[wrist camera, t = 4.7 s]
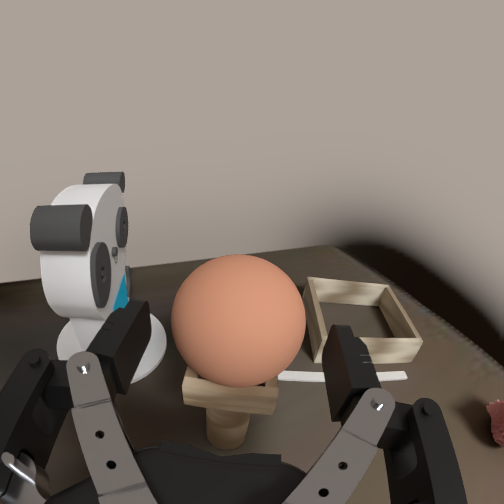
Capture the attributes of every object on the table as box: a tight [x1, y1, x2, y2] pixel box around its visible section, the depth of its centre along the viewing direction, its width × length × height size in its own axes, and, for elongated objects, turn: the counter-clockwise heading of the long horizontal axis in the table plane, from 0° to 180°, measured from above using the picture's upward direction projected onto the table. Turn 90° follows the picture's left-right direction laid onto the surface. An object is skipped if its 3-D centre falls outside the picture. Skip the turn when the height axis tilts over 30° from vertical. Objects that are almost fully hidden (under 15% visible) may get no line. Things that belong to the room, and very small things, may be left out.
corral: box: [302, 277, 423, 364], centre depth 29 cm, size 11×11×3 cm
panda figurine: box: [30, 172, 167, 384], centre depth 20 cm, size 12×11×15 cm
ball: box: [171, 255, 306, 388], centre depth 13 cm, size 6×6×6 cm
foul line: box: [278, 371, 407, 382], centre depth 23 cm, size 18×1×1 cm, turn 87°
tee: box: [182, 365, 278, 450], centre depth 15 cm, size 4×4×9 cm
